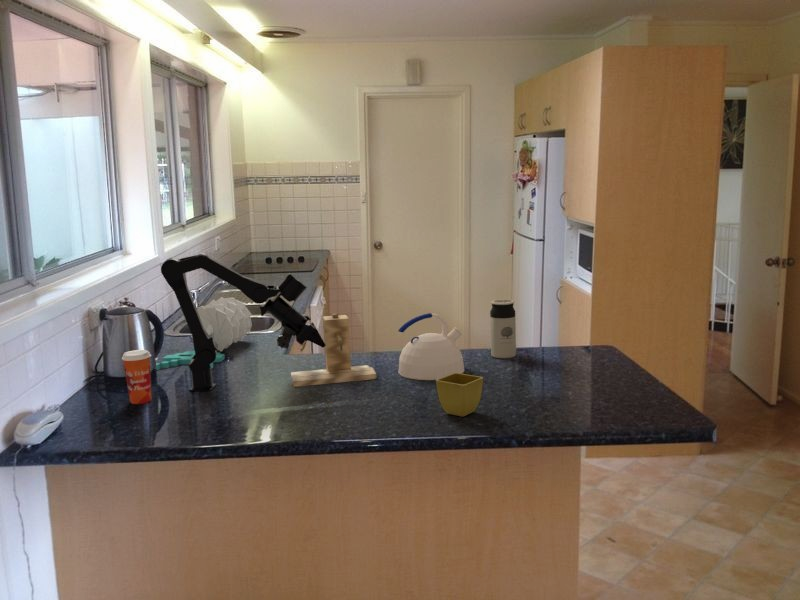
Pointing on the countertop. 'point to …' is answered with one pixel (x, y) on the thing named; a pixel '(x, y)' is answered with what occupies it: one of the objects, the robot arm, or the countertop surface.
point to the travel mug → (503, 329)
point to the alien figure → (183, 359)
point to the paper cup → (138, 375)
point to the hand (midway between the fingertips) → (324, 346)
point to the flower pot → (459, 393)
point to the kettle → (431, 353)
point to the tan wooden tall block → (337, 342)
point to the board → (332, 376)
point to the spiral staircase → (225, 320)
